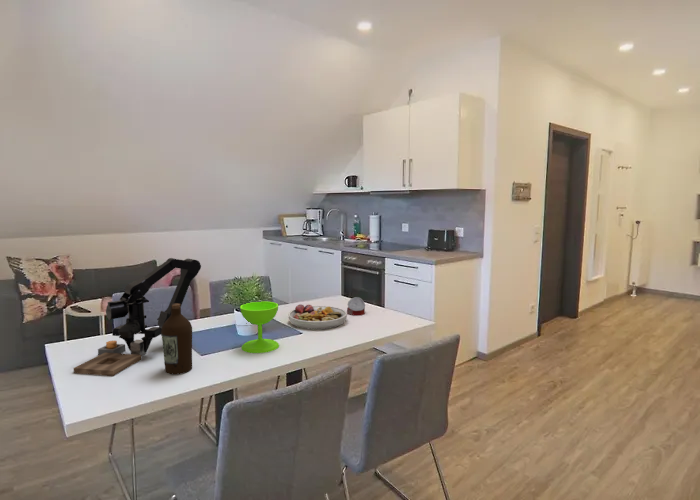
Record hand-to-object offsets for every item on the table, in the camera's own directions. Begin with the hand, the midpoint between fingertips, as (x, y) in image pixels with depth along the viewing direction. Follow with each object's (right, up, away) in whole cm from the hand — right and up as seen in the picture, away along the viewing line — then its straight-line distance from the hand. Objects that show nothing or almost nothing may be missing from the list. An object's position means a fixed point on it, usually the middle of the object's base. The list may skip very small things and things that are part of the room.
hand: (138, 351), depth 175 cm
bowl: (+69, +4, +48) cm, 84 cm away
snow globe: (+89, +6, +65) cm, 110 cm away
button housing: (-12, -1, +2) cm, 12 cm away
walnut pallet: (-6, -3, -11) cm, 13 cm away
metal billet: (0, -2, 0) cm, 2 cm away
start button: (-12, +1, +2) cm, 12 cm away
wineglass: (+47, -1, +11) cm, 48 cm away
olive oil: (+22, -4, -14) cm, 26 cm away
